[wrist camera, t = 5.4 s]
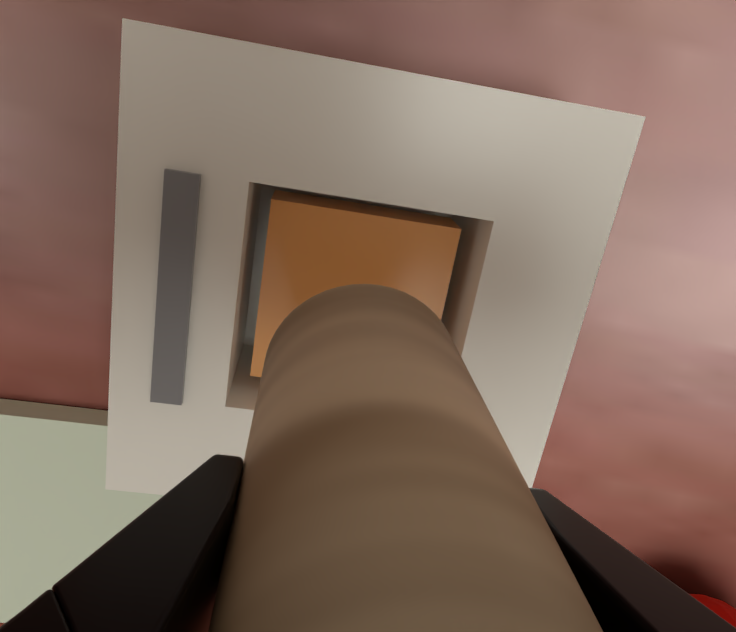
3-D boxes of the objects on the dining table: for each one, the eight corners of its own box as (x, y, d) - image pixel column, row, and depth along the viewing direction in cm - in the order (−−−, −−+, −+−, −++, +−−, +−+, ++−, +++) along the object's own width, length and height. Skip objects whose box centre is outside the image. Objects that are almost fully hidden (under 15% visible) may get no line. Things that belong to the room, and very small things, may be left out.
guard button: (416, 374, 19) (423, 397, 18) (255, 354, 19) (250, 376, 17) (450, 218, 18) (461, 229, 16) (275, 189, 17) (270, 198, 16)
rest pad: (176, 614, 25) (171, 634, 24) (-61, 596, 24) (-76, 616, 23) (193, 420, 22) (188, 434, 21) (-76, 389, 21) (-95, 404, 20)
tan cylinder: (435, 469, 14) (679, 1293, 4) (253, 449, 13) (85, 1328, 4) (477, 298, 12) (955, 952, 3) (276, 270, 12) (109, 940, 3)
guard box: (479, 441, 23) (520, 534, 19) (151, 402, 22) (102, 494, 17) (567, 109, 19) (649, 117, 15) (174, 35, 18) (119, 16, 13)
